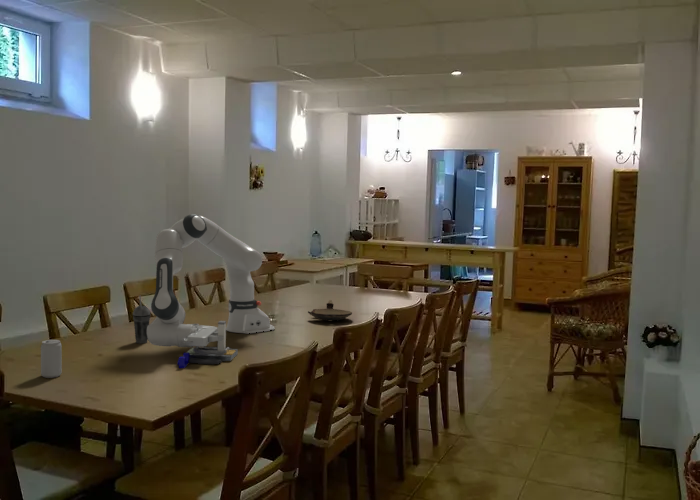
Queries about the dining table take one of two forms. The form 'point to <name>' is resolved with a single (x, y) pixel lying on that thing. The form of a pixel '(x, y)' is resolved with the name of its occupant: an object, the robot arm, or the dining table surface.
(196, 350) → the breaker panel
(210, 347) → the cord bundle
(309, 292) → the dining table surface
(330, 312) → the oil lamp
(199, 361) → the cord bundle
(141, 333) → the beverage cup
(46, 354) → the beverage can
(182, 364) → the cable holder
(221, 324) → the knob
